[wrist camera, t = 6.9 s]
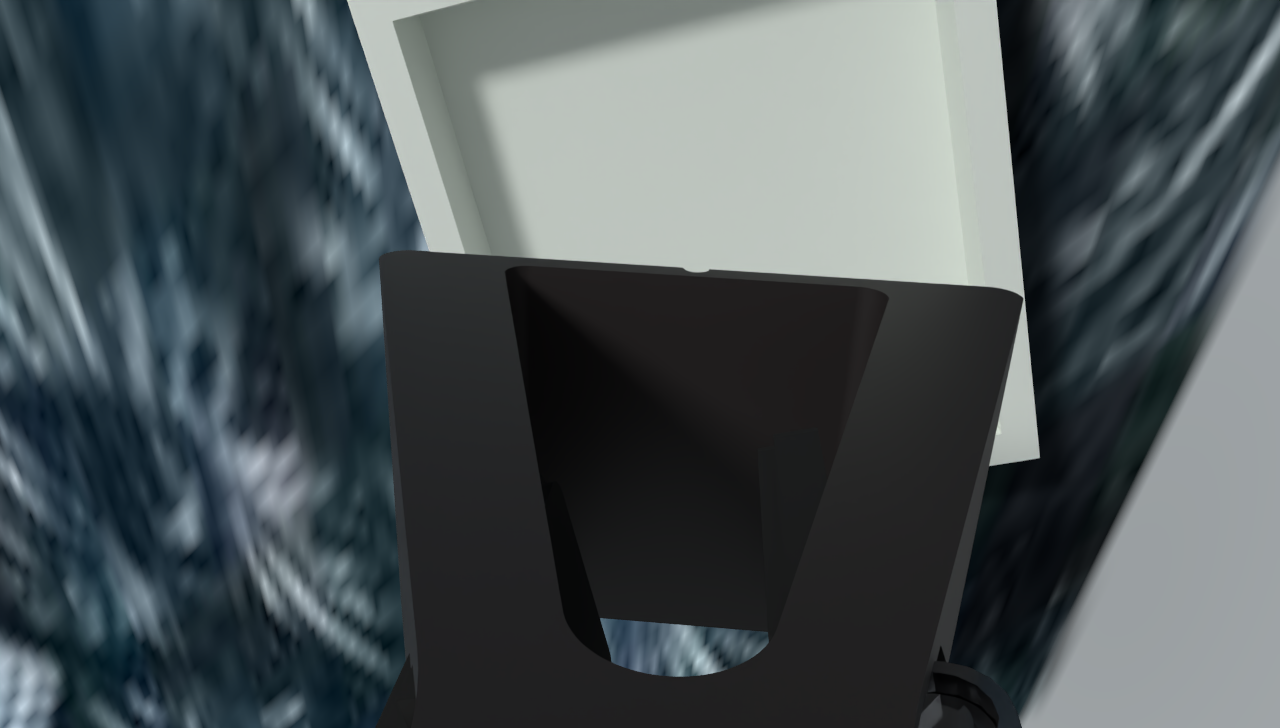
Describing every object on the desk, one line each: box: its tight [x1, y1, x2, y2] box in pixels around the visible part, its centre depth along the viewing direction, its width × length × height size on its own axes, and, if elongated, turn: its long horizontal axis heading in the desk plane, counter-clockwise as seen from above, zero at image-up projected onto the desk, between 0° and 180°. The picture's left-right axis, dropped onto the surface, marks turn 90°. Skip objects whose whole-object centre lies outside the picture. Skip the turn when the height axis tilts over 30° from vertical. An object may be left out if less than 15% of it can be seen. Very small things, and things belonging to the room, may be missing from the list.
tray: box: [347, 0, 1040, 466], centre depth 28 cm, size 16×17×3 cm
